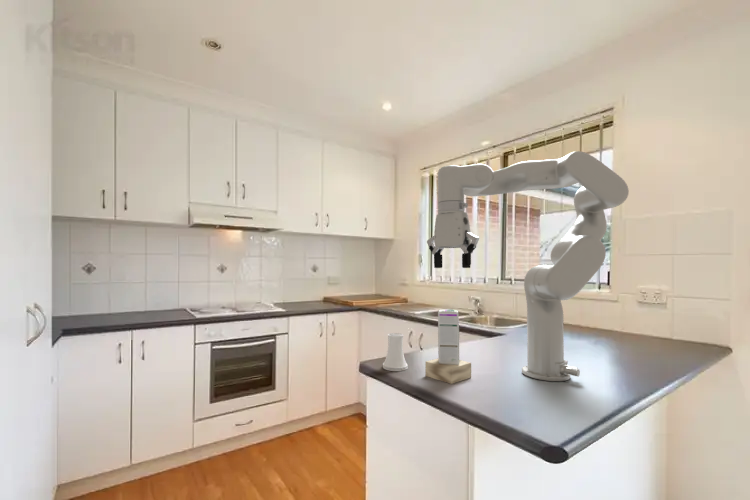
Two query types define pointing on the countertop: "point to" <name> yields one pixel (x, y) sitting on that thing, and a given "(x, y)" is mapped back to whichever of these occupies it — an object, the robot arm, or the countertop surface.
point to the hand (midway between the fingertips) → (451, 267)
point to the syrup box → (448, 336)
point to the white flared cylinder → (395, 353)
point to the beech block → (448, 371)
